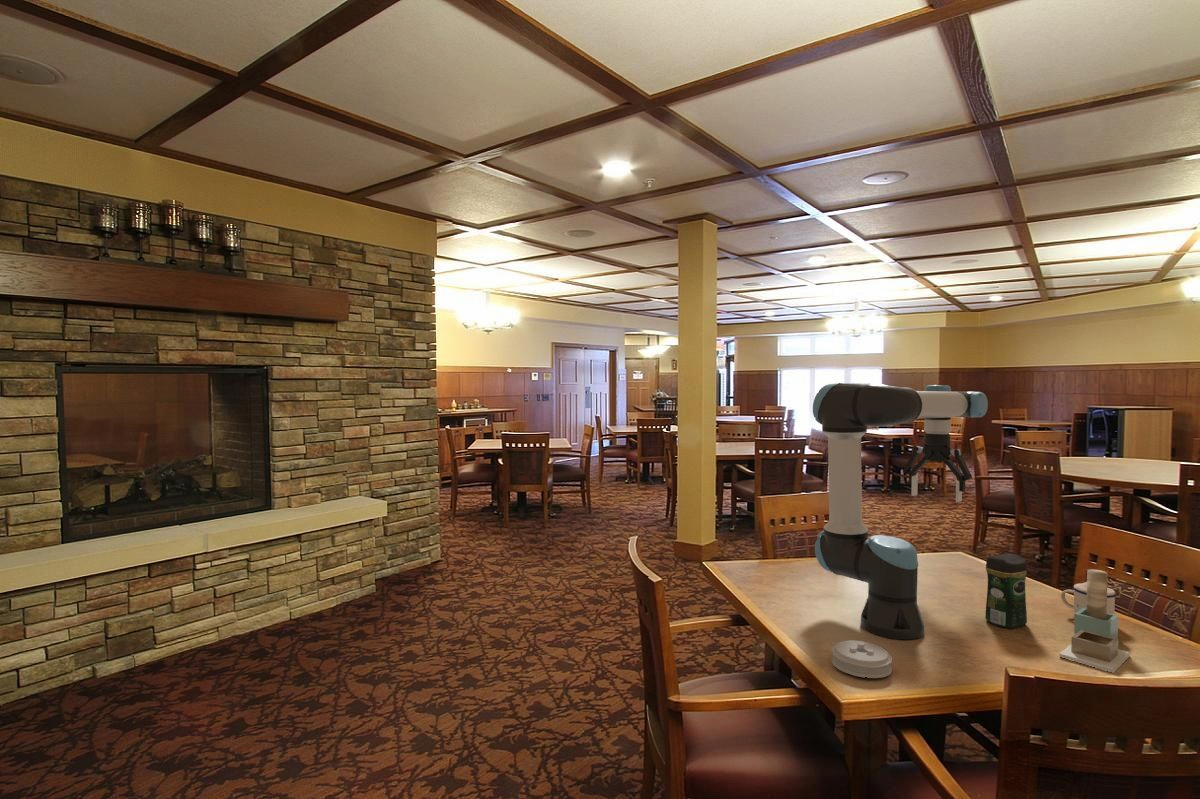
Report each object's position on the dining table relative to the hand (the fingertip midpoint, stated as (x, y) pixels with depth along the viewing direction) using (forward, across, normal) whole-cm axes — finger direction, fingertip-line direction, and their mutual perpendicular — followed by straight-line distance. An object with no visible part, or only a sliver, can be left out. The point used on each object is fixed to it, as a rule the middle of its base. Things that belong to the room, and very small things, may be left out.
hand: (936, 498), depth 200 cm
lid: (+28, -15, +76) cm, 83 cm away
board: (+28, -47, +28) cm, 62 cm away
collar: (+28, -47, +28) cm, 62 cm away
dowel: (+28, -45, +14) cm, 54 cm away
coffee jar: (+28, -27, +20) cm, 44 cm away
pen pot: (+28, -45, +14) cm, 54 cm away
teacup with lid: (+28, -40, +1) cm, 49 cm away
